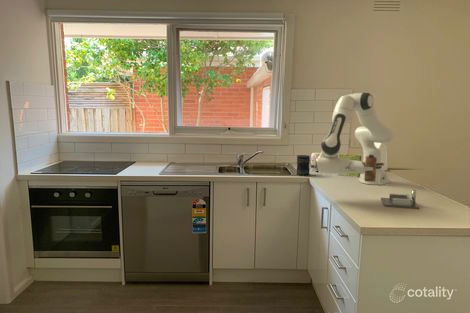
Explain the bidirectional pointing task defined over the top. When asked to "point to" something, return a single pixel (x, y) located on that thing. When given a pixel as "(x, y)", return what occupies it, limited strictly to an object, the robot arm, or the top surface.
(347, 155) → the protein box
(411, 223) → the top surface
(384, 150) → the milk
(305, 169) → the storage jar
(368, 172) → the walnut toggle block
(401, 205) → the keeper bracket
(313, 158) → the supplement can
